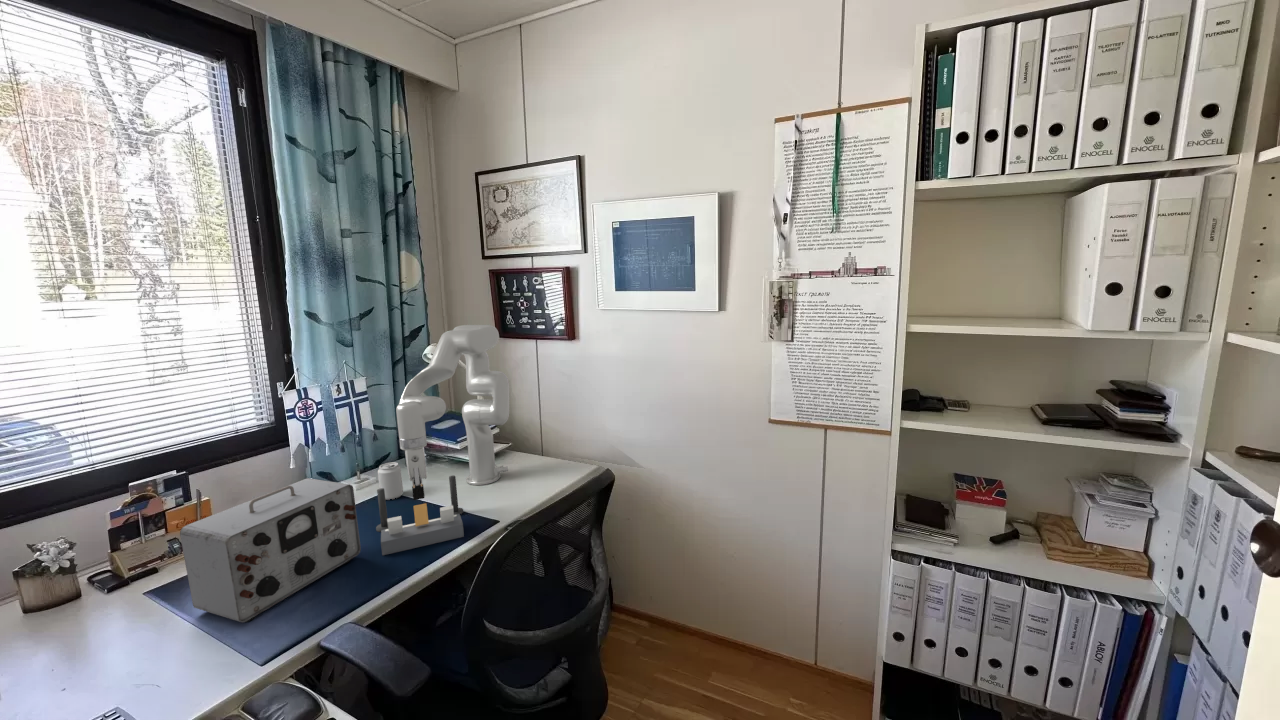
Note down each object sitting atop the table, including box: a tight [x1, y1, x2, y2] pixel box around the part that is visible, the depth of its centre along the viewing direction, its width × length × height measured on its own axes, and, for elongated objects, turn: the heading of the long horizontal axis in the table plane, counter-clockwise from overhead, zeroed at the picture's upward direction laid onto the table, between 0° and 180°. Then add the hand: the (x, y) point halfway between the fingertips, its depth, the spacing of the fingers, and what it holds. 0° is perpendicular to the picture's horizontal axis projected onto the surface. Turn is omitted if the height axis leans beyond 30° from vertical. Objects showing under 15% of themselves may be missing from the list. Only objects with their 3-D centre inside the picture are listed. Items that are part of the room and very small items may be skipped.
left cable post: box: [375, 488, 388, 533], centre depth 158 cm, size 5×5×13 cm
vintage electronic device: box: [179, 477, 362, 623], centre depth 129 cm, size 32×18×25 cm, turn 160°
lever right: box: [439, 504, 454, 523], centre depth 152 cm, size 4×1×6 cm, turn 116°
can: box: [377, 461, 404, 501], centre depth 183 cm, size 8×8×12 cm
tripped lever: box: [413, 502, 429, 527], centre depth 152 cm, size 4×1×6 cm, turn 116°
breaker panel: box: [380, 514, 465, 556], centre depth 151 cm, size 22×8×4 cm, turn 116°
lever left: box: [387, 515, 403, 535], centre depth 146 cm, size 4×1×6 cm, turn 116°
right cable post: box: [448, 475, 464, 515], centre depth 167 cm, size 5×5×13 cm
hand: (418, 498), depth 159 cm, fingers closed
